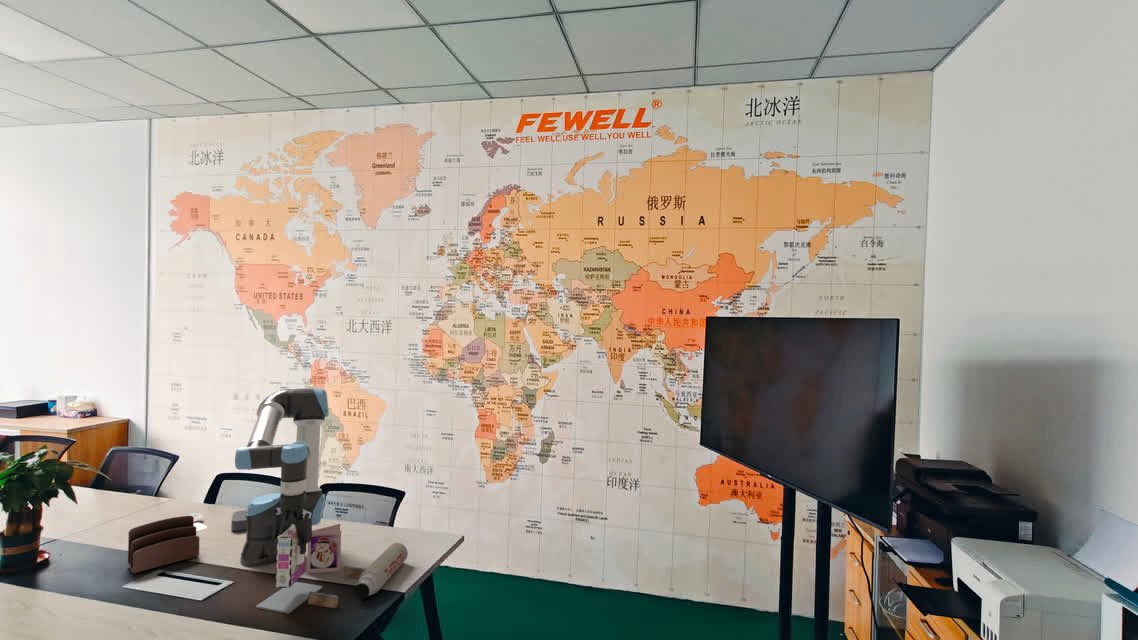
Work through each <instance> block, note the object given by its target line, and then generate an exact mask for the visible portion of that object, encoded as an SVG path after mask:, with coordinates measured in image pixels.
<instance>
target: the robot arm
mask: <svg viewBox="0 0 1138 640" xmlns="http://www.w3.org/2000/svg"><path fill="white" fill-rule="evenodd" d="M329 415H330V413H329V401H328V393H327V390H325V389H324V388H285V389H281V390H278V391H275V392H273V393H272V394H270V395H268V396H267V397H266V398H265V399H264V400H263V401H261V402H260V404H259V406H258V408H257V410H256V416H257V417H256V421H255V424H254V425H253V429H252V432H251V434H250V437H249V439H248V443H247V445H245V446H240V447H238V448H237V449H236V451H235V456H234V465H235V469H237V470H239V471H240V470H241V471H242V470H246V471H247V470H248V471H251V470H261V469H273V468H274V469H275V468H280V471H281V472H280V492H275V493H274V492H273V493H266V494H263V495H260V496H257V497H256V498H253V499H252V500H250V501H249V503H248V504H247V506H246V507H247V509H246V510H247V514H246V516H247V530H246V533H245V534H246V538H245V543H244V545H243V547H242V552H241V553H240V556H239V557H240V561H239V562H240V564H241V565H243V566H245V567H262V566H267V565H270V564H273V563H277V537H278V536H279V535H281V534H282V533H283V532H284V531H285V530H287V529H288V528H289V527H290V526H291V525H295V528H296V532H297V537H298V541H299V544H298V545H297V560H296V565H299V564H301V563H303V562H304V553H305V554H306V553H307V545H308V542H310V541H312V531H313V526H317V525H319V524H320V523H321V521H322V518H323V513H324V507H325V502H326V494H325V493H322V492H323V491H322V488H320V486H319V485H318V483H319V463H320V444H321V443H320V441H321V425H322V424H323V423H324V422H325V421H326V419H325V418H326V417H329ZM287 418H288V419H292V420H293V421H292V422H293V424H294V425H296V438H295V439H296V441H295V442H292V443H288V444H273V443H274V441H275V437H276V434H277V431H278V428H279V424H280V422H281V421H282V420H283V419H287Z"/></svg>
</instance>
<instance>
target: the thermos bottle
mask: <svg viewBox="0 0 1138 640" xmlns="http://www.w3.org/2000/svg"><path fill="white" fill-rule="evenodd" d="M408 552H409V551H408V548H407V547H406V546H405V545H404V544H403V543H401V542H393V543H391V544H390V545H389V546H388V547H387V548H386V549H385V550H384V551H383V552H382V553H381V555H379V556H378V557H377V558H376V559H375V560H374V562H372V563H371V564H369V565H370V566H368V567H367V568H365V569H366V570H365V571H364V572H363V573H362V574H361V576H360V578H359V579H358V581H357V584H356V585H355V587H354V595H355V597H356V598H357V599H360V600H365V599H366V598H367V597H369V596H372V595H375V594H376V593H378V592H380V590H381V589H382V587H383V586H384V585H385V584H386V583H387V581H388V580H389V579H390V578H391V577H392V576H393V574H394V573H396V571H398V569H399V568H400V567H401V566H402V565H403V564H404V562H405V561H406V560H407V558H408V556H409V553H408Z"/></svg>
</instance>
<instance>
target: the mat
mask: <svg viewBox="0 0 1138 640" xmlns="http://www.w3.org/2000/svg"><path fill="white" fill-rule="evenodd" d="M322 589H324V586H323V585H316V584H311V583H307V582H299V581H296V582H295V583H294V584H293V585H292V586H291V587H290V588H280V589H279V590H278V591H276V592H275V593H273V594H272V595H270V596H268V597H267V598H265V600H263V601H261V602H259V603H258V604H256V605H255V608H256V609H261V610H265V611H266V610H267V611H271V612H276V613H281V614H287V615H289V614H290V613H292V612H293V611H295V610H296V609H297V608H298V607H299V606H301V605H302V604H304V603H305V602H306V601H307V600H308V595H309V592H317V593H319V592H320V591H321V590H322Z"/></svg>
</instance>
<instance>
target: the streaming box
mask: <svg viewBox="0 0 1138 640" xmlns="http://www.w3.org/2000/svg"><path fill="white" fill-rule="evenodd" d="M246 514H247V509H243V510H237V511H234V512H233V513H232V517H231V524H230V525H231V529H230V530H231V531H232V532H238V531H239V532H240V531H247V516H246Z"/></svg>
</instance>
